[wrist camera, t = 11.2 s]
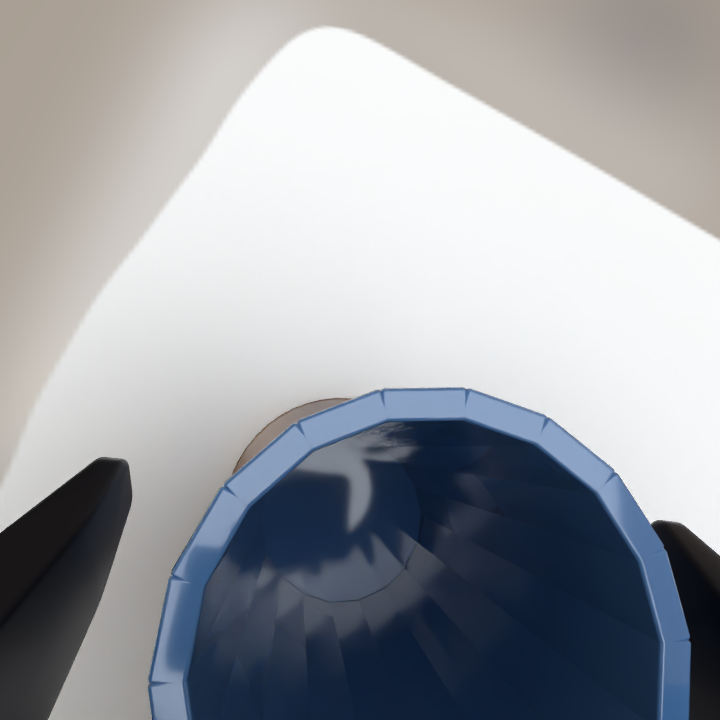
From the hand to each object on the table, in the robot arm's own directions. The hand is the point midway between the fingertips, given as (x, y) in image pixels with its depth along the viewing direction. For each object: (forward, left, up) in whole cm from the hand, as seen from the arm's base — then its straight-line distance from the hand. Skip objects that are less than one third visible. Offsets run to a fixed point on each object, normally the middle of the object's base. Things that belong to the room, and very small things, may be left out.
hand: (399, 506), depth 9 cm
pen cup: (-1, -1, -10) cm, 10 cm away
